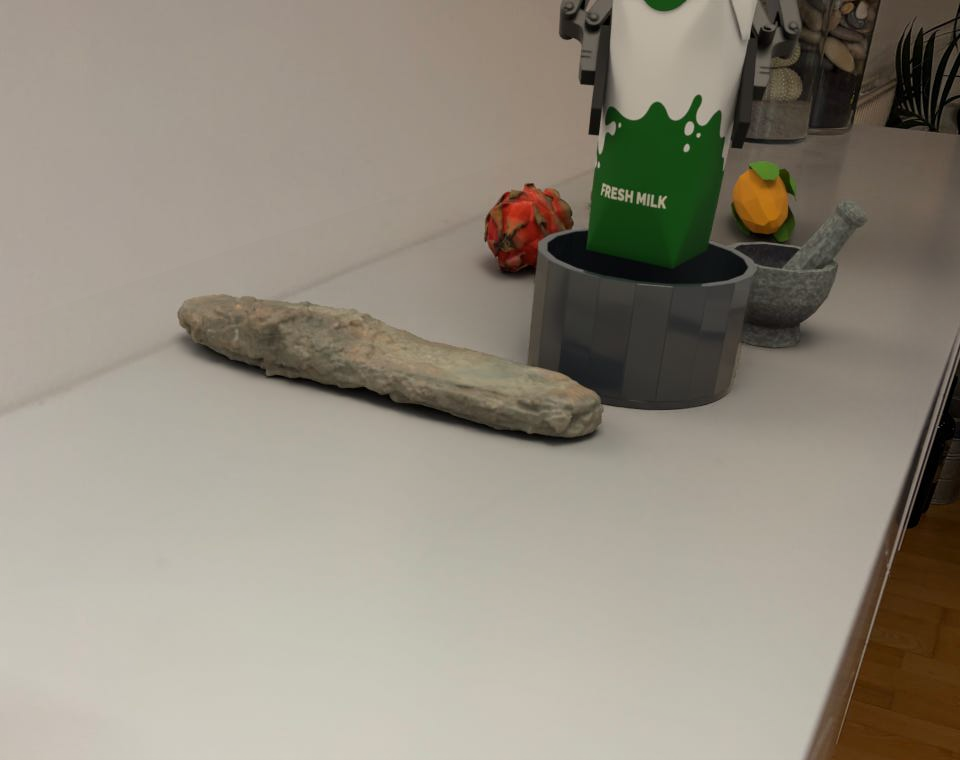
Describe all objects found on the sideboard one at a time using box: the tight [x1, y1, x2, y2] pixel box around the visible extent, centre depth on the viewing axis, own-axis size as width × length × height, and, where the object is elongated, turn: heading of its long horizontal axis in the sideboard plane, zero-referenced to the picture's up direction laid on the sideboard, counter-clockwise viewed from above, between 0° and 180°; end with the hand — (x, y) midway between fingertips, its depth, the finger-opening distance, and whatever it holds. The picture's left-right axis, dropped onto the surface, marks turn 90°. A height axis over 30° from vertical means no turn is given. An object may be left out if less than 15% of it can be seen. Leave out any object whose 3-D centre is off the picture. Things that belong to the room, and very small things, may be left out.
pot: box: [527, 227, 758, 410], centre depth 84 cm, size 16×16×9 cm
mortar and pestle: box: [726, 198, 868, 349], centre depth 93 cm, size 11×9×12 cm
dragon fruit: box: [483, 182, 575, 273], centre depth 107 cm, size 8×8×12 cm
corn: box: [730, 160, 797, 243], centre depth 126 cm, size 7×8×20 cm
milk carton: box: [586, 0, 757, 269], centre depth 76 cm, size 9×9×20 cm
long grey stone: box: [177, 293, 605, 438], centre depth 79 cm, size 35×5×10 cm
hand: (667, 128), depth 74 cm, fingers closed on milk carton, 9 cm apart
